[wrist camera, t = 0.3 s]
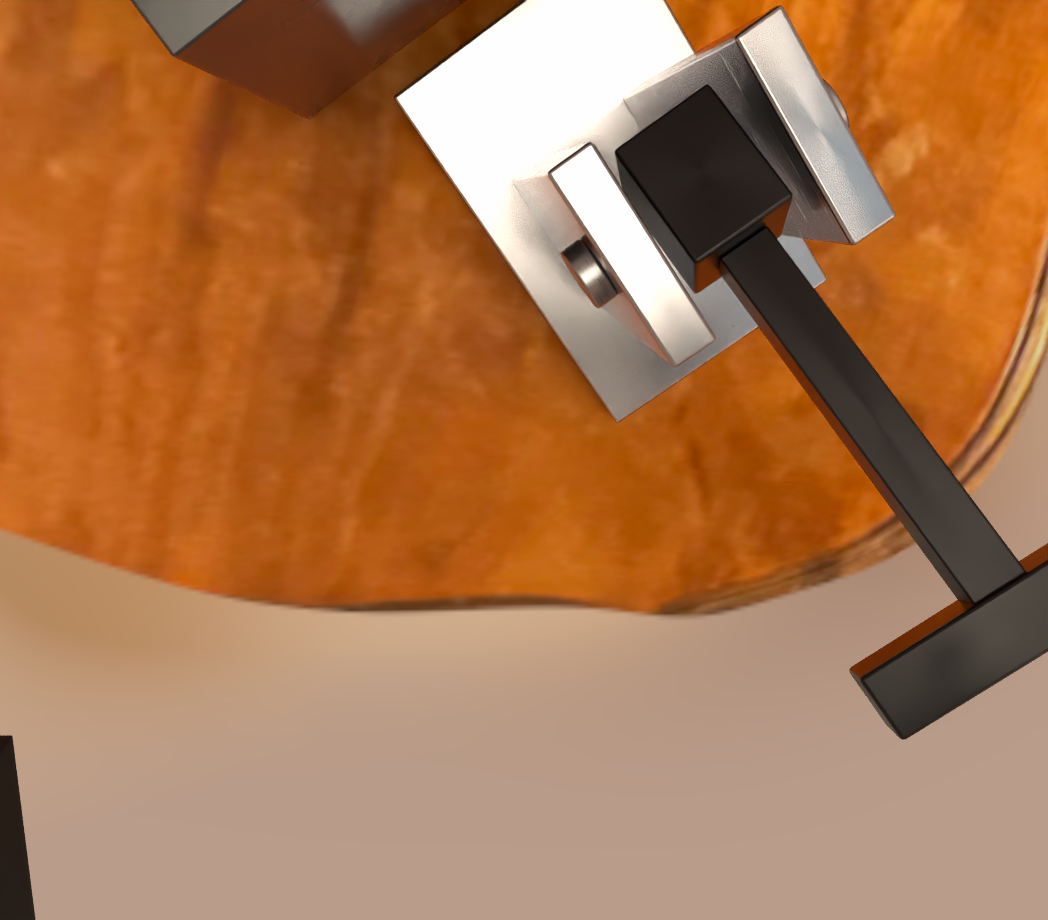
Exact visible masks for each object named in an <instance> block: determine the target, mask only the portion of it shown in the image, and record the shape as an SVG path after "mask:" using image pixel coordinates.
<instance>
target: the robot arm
mask: <svg viewBox="0 0 1048 920" xmlns="http://www.w3.org/2000/svg"><path fill="white" fill-rule="evenodd" d="M0 920H35V913H34V905H33V897H32V889H31V881H30V873H29V865H28V857H27V850H26V842H25V833H24V826H23V817H22V810H21V802H20V793H19V786H18V778H17V770H16V763H15V754H14V746H13V739H12V736H0Z"/></svg>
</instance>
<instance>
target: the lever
mask: <svg viewBox="0 0 1048 920" xmlns="http://www.w3.org/2000/svg"><path fill="white" fill-rule="evenodd" d="M614 153H615V158H616V163H617V167H618V172H619V177H620V182H621V187H622V189H623V190H624V192H625V194H626V195H627V197H628V198H629V200H630V202H631V203H632V205H633V206H634V208H635V209H636V211H637V213H638V214H639V216H640V217H641V219H642V221H643V222H644V224H645V225H646V227H647V228H648V230H649V232H650V233H651V235H652V236H653V237H654V239H655V240H656V242H657V243H658V244H659V246H660V247H661V248H662V250H663V251H664V253H665V254H666V255H667V257H668V258H669V260H670V261H671V262H672V264H673V265H674V266H675V268H676V269H677V271H678V272H679V273H680V275H681V276H682V277H683V279H684V280H685V282H686V283H687V284H688V286H689V287H690V289H691V290H692V291H693V292H694V293H695V294H696V293H699V292H701V291H702V290H704V289H705V288H706V287H708V286H709V285H711V284H712V283H714V282H715V281H717V280H718V279H719V278H721V277H722V278H723V279H724V280H725V282H726V283H727V284H728V286H729V287H730V289H731V290H732V291H733V293H734V294H735V295H736V297H737V298H738V300H739V301H740V302H741V304H742V305H743V306H744V308H745V309H746V310H747V312H748V313H749V315H750V316H751V317H752V319H753V320H754V321H755V323H756V324H757V325H758V327H759V328H760V330H761V331H762V332H763V334H764V335H765V336H766V338H767V339H768V341H769V342H770V343H771V345H772V346H773V347H774V349H775V350H776V351H777V353H778V354H779V356H780V357H781V358H782V360H783V361H784V362H785V364H786V365H787V367H788V368H789V369H790V371H791V372H792V373H793V375H794V376H795V377H796V379H797V380H798V382H799V383H800V384H801V386H802V387H803V388H804V390H805V391H806V393H807V394H808V395H809V397H810V398H811V399H812V401H813V402H814V403H815V405H816V406H817V408H818V409H819V410H820V412H821V413H822V414H823V416H824V417H825V418H826V420H827V421H828V423H829V424H830V425H831V427H832V428H833V429H834V431H835V432H836V434H837V435H838V436H839V438H840V439H841V440H842V442H843V443H844V444H845V446H846V447H847V449H848V450H849V451H850V453H851V454H852V455H853V457H854V458H855V460H856V461H857V462H858V464H859V465H860V466H861V468H862V469H863V470H864V472H865V473H866V475H867V476H868V477H869V479H870V480H871V481H872V483H873V484H874V486H875V487H876V488H877V490H878V491H879V492H880V494H881V495H882V496H883V498H884V499H885V501H886V502H887V503H888V505H889V506H890V507H891V509H892V510H893V511H894V513H895V514H896V516H897V517H898V518H899V520H900V521H901V522H902V524H903V525H904V527H905V528H906V529H907V531H908V532H909V533H910V535H911V536H912V537H913V539H914V540H915V542H916V543H917V544H918V546H919V547H920V548H921V550H922V551H923V553H924V554H925V555H926V557H927V558H928V559H929V561H930V562H931V563H932V565H933V566H934V568H935V569H936V570H937V572H938V573H939V574H940V576H941V577H942V578H943V580H944V581H945V583H946V584H947V585H948V587H949V588H950V589H951V591H952V592H953V593H954V595H955V596H956V598H957V599H958V600H957V601H955V602H954V603H953V604H951V605H949V606H947V607H946V608H944V609H943V610H941V611H939V612H938V613H936V614H935V615H933V616H932V617H930V618H928V619H927V620H925V621H924V622H922V623H920V624H919V625H917V626H916V627H914V628H912V629H911V630H909V631H908V632H906V633H905V634H903V635H902V636H900V637H898V638H897V639H895V640H893V641H892V642H891V643H889V644H887V645H886V646H884V647H883V648H881V649H879V650H878V651H876V652H875V653H873V654H871V655H870V656H868V657H867V658H865V659H863V660H862V661H860V662H859V663H857V664H855V665H854V666H852V667H851V668H850V673H851V675H852V676H853V678H854V679H855V681H856V682H857V683H858V685H859V686H860V687H861V689H862V691H863V692H864V693H865V695H866V696H867V697H868V699H869V701H870V702H871V703H872V705H873V706H874V708H875V709H876V711H877V712H878V713H879V715H880V716H881V718H882V719H883V720H884V722H885V723H886V725H887V726H888V727H889V728H890V729H891V730H892V731H893V732H894V733H895V734H896V735H897V736H898V737H899V738H901V739H902V740H903V739H907V738H908V737H910V736H911V735H913V734H915V733H917V732H918V731H920V730H921V729H923V728H925V727H926V726H928V725H929V724H931V723H933V722H934V721H936V720H938V719H939V718H941V717H943V716H944V715H946V714H947V713H949V712H951V711H952V710H954V709H956V708H957V707H959V706H960V705H962V704H964V703H965V702H967V701H969V700H970V699H972V698H973V697H975V696H977V695H978V694H980V693H981V692H983V691H985V690H986V689H988V688H990V687H991V686H993V685H994V684H996V683H998V682H999V681H1001V680H1003V679H1004V678H1006V677H1007V676H1009V675H1011V674H1012V673H1014V672H1016V671H1017V670H1019V669H1020V668H1022V667H1024V666H1025V665H1027V664H1029V663H1030V662H1032V661H1033V660H1035V659H1037V658H1038V657H1040V656H1041V655H1043V654H1045V653H1046V652H1048V543H1047V544H1046V545H1044V546H1043V547H1041V548H1040V549H1038V550H1036V551H1035V552H1033V553H1031V554H1030V555H1028V556H1027V557H1025V558H1024V559H1022V560H1020V561H1018V560H1017V558H1016V557H1015V556H1014V554H1013V553H1012V552H1011V551H1010V549H1009V548H1008V547H1007V545H1006V544H1005V542H1004V541H1003V540H1002V538H1001V537H1000V536H999V535H998V533H997V532H996V530H995V529H994V528H993V526H992V525H991V524H990V523H989V521H988V520H987V518H986V517H985V516H984V514H983V513H982V512H981V510H980V509H979V508H978V506H977V505H976V504H975V503H974V501H973V500H972V498H971V497H970V496H969V494H968V493H967V492H966V490H965V489H964V488H963V486H962V485H961V484H960V482H959V481H958V480H957V478H956V477H955V476H954V474H953V473H952V472H951V470H950V469H949V468H948V466H947V465H946V464H945V462H944V461H943V460H942V458H941V457H940V456H939V454H938V453H937V452H936V450H935V449H934V448H933V446H932V445H931V444H930V442H929V441H928V440H927V438H926V437H925V436H924V434H923V433H922V432H921V430H920V429H919V428H918V426H917V425H916V424H915V422H914V421H913V420H912V418H911V417H910V416H909V414H908V413H907V412H906V410H905V409H904V408H903V406H902V405H901V404H900V402H899V401H898V400H897V398H896V397H895V396H894V394H893V393H892V392H891V390H890V389H889V388H888V386H887V385H886V384H885V382H884V381H883V380H882V378H881V377H880V376H879V374H878V373H877V372H876V370H875V369H874V368H873V366H872V365H871V364H870V362H869V361H868V360H867V358H866V357H865V356H864V354H863V353H862V352H861V350H860V349H859V348H858V346H857V345H856V344H855V342H854V341H853V340H852V338H851V337H850V336H849V334H848V333H847V332H846V330H845V329H844V328H843V326H842V325H841V324H840V322H839V321H838V320H837V318H836V317H835V316H834V314H833V313H832V312H831V310H830V309H829V308H828V306H827V305H826V304H825V302H824V301H823V300H822V298H821V297H820V296H819V294H818V293H817V292H816V290H815V289H814V288H813V286H812V285H811V284H810V282H809V281H808V280H807V278H806V277H805V276H804V274H803V273H802V272H801V270H800V269H799V268H798V266H797V265H796V264H795V262H794V261H793V260H792V258H791V257H790V256H789V254H788V253H787V252H786V250H785V249H784V248H783V246H782V245H781V244H780V242H779V241H778V240H777V238H779V237H780V236H781V234H782V231H783V228H784V225H785V221H786V218H787V215H788V211H789V208H790V204H791V201H792V198H793V195H792V192H791V191H790V190H789V188H788V187H787V186H786V184H785V183H784V182H783V180H782V179H781V178H780V177H779V175H778V174H777V173H776V171H775V170H774V169H773V167H772V166H771V165H770V163H769V162H768V161H767V159H766V158H765V157H764V155H763V154H762V153H761V152H760V150H759V149H758V148H757V146H756V145H755V144H754V142H753V141H752V140H751V138H750V137H749V136H748V134H747V133H746V132H745V130H744V129H743V128H742V127H741V125H740V124H739V123H738V121H737V120H736V119H735V117H734V116H733V115H732V113H731V112H730V111H729V109H728V108H727V107H726V106H725V104H724V103H723V102H722V100H721V99H720V98H719V96H718V95H717V94H716V92H715V91H714V90H713V88H712V87H711V86H710V85H708V84H706V85H704V86H703V87H701V88H700V89H698V90H697V91H696V92H694V93H693V94H692V95H690V96H689V97H687V98H686V99H685V100H683V101H682V102H680V103H679V104H678V105H676V106H675V107H673V108H672V109H671V110H669V111H668V112H667V113H665V114H664V115H662V116H661V117H660V118H658V119H657V120H655V121H654V122H653V123H651V124H650V125H648V126H647V127H646V128H644V129H643V130H641V131H640V132H639V133H637V134H636V135H635V136H633V137H632V138H630V139H629V140H628V141H626V142H625V143H623V144H622V145H621V146H619V147H618V148H616V150H615V151H614Z"/></svg>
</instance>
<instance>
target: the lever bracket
mask: <svg viewBox="0 0 1048 920" xmlns="http://www.w3.org/2000/svg"><path fill="white" fill-rule="evenodd" d="M706 84H708V85H710V86H711V87H712V88H713V90H714V91H715V92H716V94H717V95H718V96H719V98H720V99H721V100H722V102H723V103H724V104H725V106H726V107H727V108H728V109H729V111H730V112H731V113H732V115H733V116H734V117H735V119H736V120H737V121H738V123H739V124H740V125H741V127H742V128H743V129H744V130H745V132H746V133H747V134H748V136H749V137H750V138H751V140H752V141H753V142H754V144H755V145H756V146H757V148H758V149H759V150H760V152H761V153H762V154H763V155H764V157H765V158H766V159H767V161H768V162H769V163H770V165H771V166H772V167H773V169H774V170H775V171H776V173H777V174H778V175H779V177H780V178H781V179H782V180H783V182H784V183H785V184H786V186H787V187H788V188H789V190H790V191H791V192H792V195H793V198H792V201H791V204H790V208H789V211H788V215H787V218H786V221H785V225H784V228H783V231H782V234H781V236H780V237H779V238H777V240H778V241H779V242H780V244H781V245H782V246H783V248H784V249H785V250H786V252H787V253H788V254H789V256H790V257H791V258H792V260H793V261H794V262H795V264H796V265H797V266H798V268H799V269H800V270H801V272H802V273H803V274H804V276H805V277H806V278H807V280H808V281H809V282H810V284H811V285H812V286H813V288H814V289H815V288H817V287H818V286H820V285H821V284H822V283H824V282H825V281H826V280H827V278H826V276H825V274H824V272H823V271H822V269H821V267H820V266H819V264H818V262H817V260H816V259H815V257H814V255H813V253H812V252H811V250H810V248H809V247H808V245H807V243H806V241H805V240H804V239H810V240H817V241H824V242H831V243H838V244H845V245H856V244H857V243H859V242H860V241H862V240H863V239H865V238H866V237H867V236H869V235H870V234H872V233H873V232H875V231H876V230H878V229H879V228H881V227H882V226H884V225H885V224H886V223H888V222H889V221H891V220H892V219H893V218H894V217H895V212H894V210H893V208H892V206H891V204H890V203H889V201H888V199H887V197H886V195H885V193H884V192H883V190H882V188H881V186H880V184H879V182H878V181H877V179H876V177H875V175H874V173H873V171H872V170H871V168H870V166H869V164H868V162H867V160H866V159H865V157H864V155H863V153H862V151H861V149H860V148H859V146H858V144H857V142H856V140H855V138H854V136H853V135H852V133H851V131H850V129H849V120H848V116H847V113H846V111H845V108H844V106H843V104H842V102H841V100H840V99H839V97H838V95H837V94H836V92H835V91H834V90H833V89H832V87H831V86H830V85H829V84H828V83H827V82H826V81H825V80H824V79H822V78H821V76H820V74H819V72H818V70H817V69H816V67H815V65H814V63H813V61H812V59H811V58H810V56H809V54H808V52H807V50H806V48H805V47H804V45H803V43H802V41H801V39H800V37H799V36H798V34H797V32H796V30H795V28H794V26H793V25H792V23H791V21H790V19H789V17H788V15H787V13H786V12H785V10H784V8H783V7H782V6H781V5H779V6H776V7H774V8H772V9H770V10H769V11H767V12H765V13H763V14H762V15H760V16H758V17H756V18H755V19H753V20H751V21H749V22H748V23H746V24H744V25H742V26H741V27H739V28H737V29H735V30H734V31H732V32H730V33H728V34H726V35H725V36H723V37H721V38H719V39H718V40H716V41H714V42H712V43H711V44H709V45H707V46H705V47H704V48H702V49H700V50H698V51H697V52H695V50H694V48H693V47H692V45H691V43H690V41H689V40H688V38H687V36H686V35H685V33H684V31H683V29H682V28H681V26H680V24H679V23H678V21H677V19H676V17H675V16H674V14H673V12H672V10H671V9H670V7H669V5H668V4H667V2H666V0H522V1H521V2H519V3H518V4H517V5H515V6H514V7H513V8H511V9H510V10H509V11H507V12H506V13H505V14H503V15H502V16H501V17H499V18H498V19H497V20H495V21H494V22H493V23H491V24H490V25H489V26H487V27H486V28H485V29H483V30H482V31H481V32H479V33H478V34H477V35H475V36H474V37H473V38H471V39H470V40H468V41H467V42H466V43H464V44H463V45H462V46H460V47H459V48H458V49H456V50H455V51H454V52H452V53H451V54H450V55H448V56H447V57H446V58H444V59H443V60H442V61H440V62H439V63H438V64H436V65H435V66H434V67H432V68H431V69H430V70H428V71H427V72H426V73H424V74H423V75H422V76H420V77H419V78H418V79H416V80H415V81H414V82H412V83H411V84H410V85H408V86H407V87H406V88H404V89H403V90H402V91H400V92H399V93H398V94H396V95H395V97H394V99H395V101H396V102H397V104H398V105H399V107H400V108H401V110H402V111H403V113H404V114H405V116H406V117H407V118H408V120H409V121H410V123H411V124H412V126H413V127H414V129H415V130H416V132H417V133H418V135H419V136H420V137H421V139H422V140H423V142H424V143H425V145H426V146H427V148H428V149H429V151H430V152H431V153H432V155H433V156H434V158H435V159H436V161H437V162H438V164H439V165H440V167H441V168H442V169H443V171H444V172H445V174H446V175H447V177H448V178H449V180H450V181H451V183H452V184H453V185H454V187H455V188H456V190H457V191H458V193H459V194H460V196H461V197H462V199H463V200H464V202H465V203H466V204H467V206H468V207H469V209H470V210H471V212H472V213H473V215H474V216H475V218H476V219H477V220H478V222H479V223H480V225H481V226H482V228H483V229H484V231H485V232H486V234H487V235H488V236H489V238H490V239H491V241H492V242H493V244H494V245H495V247H496V248H497V250H498V251H499V252H500V254H501V255H502V257H503V258H504V260H505V261H506V263H507V264H508V266H509V267H510V269H511V270H512V271H513V273H514V274H515V276H516V277H517V279H518V280H519V282H520V283H521V285H522V286H523V287H524V289H525V290H526V292H527V293H528V295H529V296H530V298H531V299H532V301H533V302H534V303H535V305H536V306H537V308H538V309H539V311H540V312H541V314H542V315H543V317H544V318H545V319H546V321H547V322H548V324H549V325H550V327H551V328H552V330H553V331H554V333H555V334H556V336H557V337H558V338H559V340H560V341H561V343H562V344H563V346H564V347H565V349H566V350H567V352H568V353H569V354H570V356H571V357H572V359H573V360H574V362H575V363H576V365H577V366H578V368H579V369H580V370H581V372H582V373H583V375H584V376H585V378H586V379H587V381H588V382H589V384H590V385H591V386H592V388H593V389H594V391H595V392H596V394H597V395H598V397H599V398H600V400H601V401H602V403H603V404H604V405H605V407H606V408H607V410H608V411H609V413H610V414H611V416H612V417H613V419H614V420H615V421H616V422H617V423H618V422H620V421H622V420H623V419H625V418H626V417H628V416H629V415H631V414H632V413H633V412H635V411H636V410H638V409H639V408H641V407H642V406H644V405H645V404H647V403H648V402H650V401H651V400H652V399H654V398H655V397H657V396H658V395H660V394H661V393H663V392H664V391H666V390H667V389H669V388H670V387H672V386H673V385H674V384H676V383H677V382H679V381H680V380H682V379H683V378H685V377H686V376H688V375H689V374H691V373H692V372H694V371H695V370H696V369H698V368H699V367H701V366H702V365H704V364H705V363H707V362H708V361H710V360H711V359H713V358H714V357H715V356H717V355H718V354H720V353H721V352H723V351H724V350H726V349H727V348H729V347H730V346H732V345H733V344H735V343H736V342H737V341H739V340H740V339H742V338H743V337H745V336H746V335H748V334H749V333H751V332H752V331H754V330H755V329H757V328H758V325H757V324H756V323H755V321H754V320H753V319H752V317H751V316H750V315H749V313H748V312H747V310H746V309H745V308H744V306H743V305H742V304H741V302H740V301H739V300H738V298H737V297H736V295H735V294H734V293H733V291H732V290H731V289H730V287H729V286H728V284H727V283H726V282H725V280H724V279H723V278H722V277H721V278H719V279H718V280H717V281H715V282H714V283H712V284H711V285H709V286H708V287H706V288H705V289H704V290H702V291H701V292H699V293H696V294H695V293H694V292H693V291H692V290H691V289H690V287H689V286H688V284H687V283H686V282H685V280H684V279H683V277H682V276H681V275H680V273H679V272H678V271H677V269H676V268H675V266H674V265H673V264H672V262H671V261H670V260H669V258H668V257H667V255H666V254H665V253H664V251H663V250H662V248H661V247H660V246H659V244H658V243H657V242H656V240H655V239H654V237H653V236H652V235H651V233H650V232H649V230H648V228H647V227H646V225H645V224H644V222H643V221H642V219H641V217H640V216H639V214H638V213H637V211H636V209H635V208H634V206H633V205H632V203H631V202H630V200H629V198H628V197H627V195H626V194H625V192H624V190H623V189H622V187H621V182H620V177H619V172H618V167H617V163H616V158H615V153H614V151H615V150H616V148H618V147H619V146H621V145H622V144H623V143H625V142H626V141H628V140H629V139H630V138H632V137H633V136H635V135H636V134H637V133H639V132H640V131H641V130H643V129H644V128H646V127H647V126H648V125H650V124H651V123H653V122H654V121H655V120H657V119H658V118H660V117H661V116H662V115H664V114H665V113H667V112H668V111H669V110H671V109H672V108H673V107H675V106H676V105H678V104H679V103H680V102H682V101H683V100H685V99H686V98H687V97H689V96H690V95H692V94H693V93H694V92H696V91H697V90H698V89H700V88H701V87H703V86H704V85H706Z"/></svg>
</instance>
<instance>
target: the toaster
mask: <svg viewBox="0 0 1048 920" xmlns="http://www.w3.org/2000/svg"><path fill="white" fill-rule="evenodd" d="M464 1H465V0H131V2H132V3H133V4H134V6H135V7H136V8H137V10H138V11H139V12H140V14H141V15H142V16H143V18H144V19H145V20H146V22H147V23H148V24H149V26H150V27H151V28H152V30H153V31H154V32H155V34H156V35H157V36H158V38H159V39H160V40H161V42H162V43H163V44H164V46H165V47H166V48H167V50H168V51H169V52H170V54H171V55H172V56H174V57H176V58H178V59H180V60H182V61H184V62H186V63H189V64H191V65H193V66H195V67H197V68H199V69H201V70H204V71H206V72H208V73H210V74H212V75H214V76H217V77H219V78H221V79H223V80H225V81H227V82H229V83H232V84H234V85H236V86H238V87H240V88H242V89H244V90H247V91H249V92H251V93H253V94H255V95H257V96H259V97H262V98H264V99H266V100H268V101H270V102H272V103H275V104H277V105H279V106H281V107H283V108H285V109H287V110H290V111H292V112H294V113H296V114H298V115H300V116H302V117H305V118H307V119H309V118H310V117H312V116H313V115H314V114H316V113H317V112H318V111H320V110H321V109H322V108H324V107H325V106H326V105H328V104H329V103H330V102H332V101H333V100H334V99H335V98H337V97H338V96H339V95H341V94H342V93H343V92H345V91H346V90H347V89H349V88H350V87H351V86H353V85H354V84H355V83H357V82H358V81H359V80H361V79H362V78H363V77H365V76H366V75H367V74H369V73H370V72H371V71H373V70H374V69H375V68H377V67H378V66H379V65H381V64H382V63H383V62H385V61H386V60H387V59H389V58H390V57H391V56H392V55H394V54H395V53H396V52H398V51H399V50H400V49H402V48H403V47H404V46H406V45H407V44H408V43H410V42H411V41H412V40H414V39H415V38H416V37H418V36H419V35H420V34H422V33H423V32H424V31H426V30H427V29H428V28H430V27H431V26H432V25H434V24H435V23H436V22H438V21H439V20H440V19H442V18H443V17H444V16H446V15H447V14H448V13H449V12H451V11H452V10H453V9H455V8H456V7H457V6H459V5H460V4H461V3H463V2H464Z"/></svg>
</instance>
